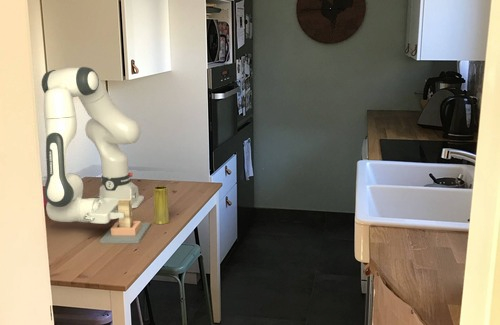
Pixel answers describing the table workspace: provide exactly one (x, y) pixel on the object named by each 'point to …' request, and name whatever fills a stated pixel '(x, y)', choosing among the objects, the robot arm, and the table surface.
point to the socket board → (126, 233)
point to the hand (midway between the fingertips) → (127, 210)
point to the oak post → (125, 207)
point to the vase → (161, 205)
